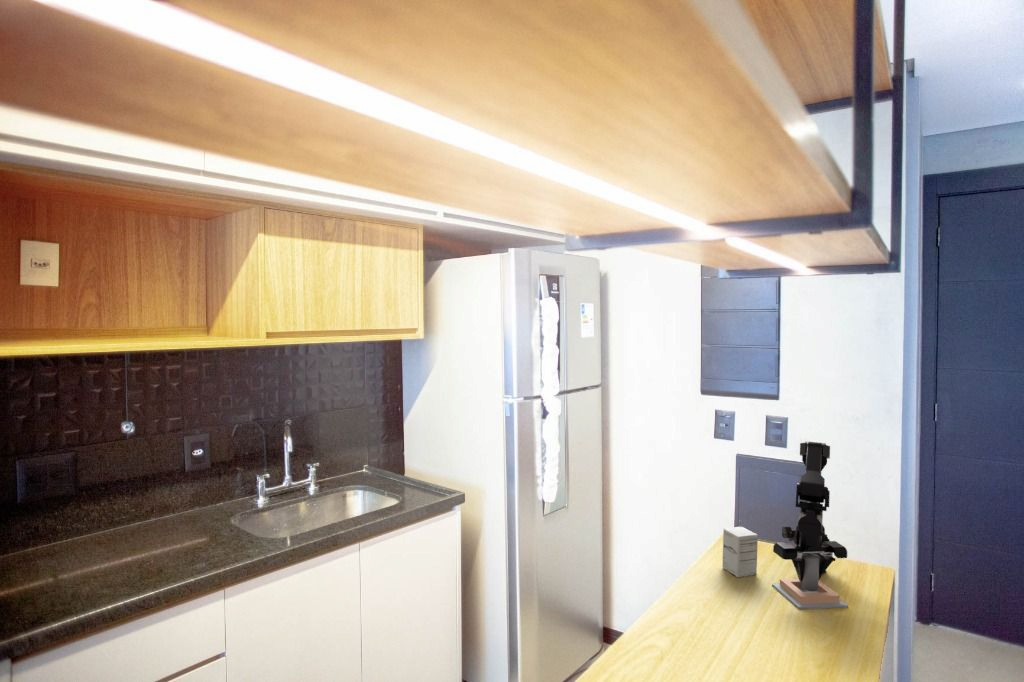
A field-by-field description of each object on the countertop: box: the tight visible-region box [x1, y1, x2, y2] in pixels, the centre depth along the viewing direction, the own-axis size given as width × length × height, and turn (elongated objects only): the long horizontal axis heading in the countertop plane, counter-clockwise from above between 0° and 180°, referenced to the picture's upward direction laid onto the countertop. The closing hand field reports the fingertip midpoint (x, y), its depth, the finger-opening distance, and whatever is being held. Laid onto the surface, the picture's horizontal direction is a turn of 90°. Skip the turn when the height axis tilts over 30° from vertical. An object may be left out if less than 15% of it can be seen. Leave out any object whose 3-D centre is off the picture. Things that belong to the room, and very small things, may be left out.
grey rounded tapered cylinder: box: [799, 553, 820, 591], centre depth 168 cm, size 5×5×9 cm
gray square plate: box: [771, 577, 849, 610], centre depth 168 cm, size 14×14×3 cm
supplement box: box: [722, 526, 759, 578], centre depth 184 cm, size 7×7×13 cm
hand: (809, 580), depth 168 cm, fingers closed on grey rounded tapered cylinder, 5 cm apart
